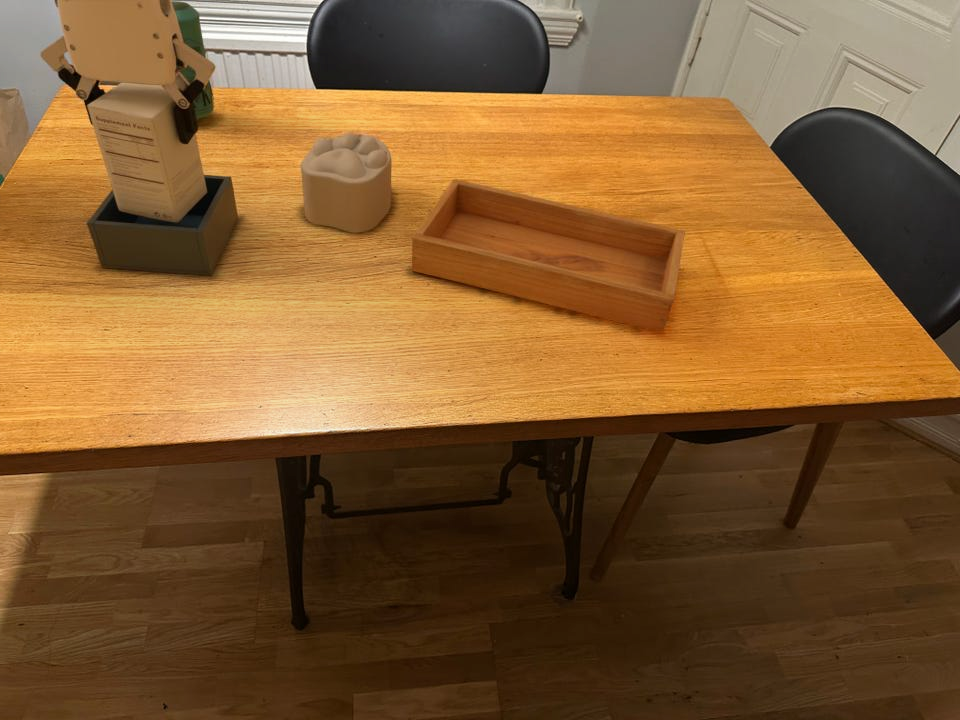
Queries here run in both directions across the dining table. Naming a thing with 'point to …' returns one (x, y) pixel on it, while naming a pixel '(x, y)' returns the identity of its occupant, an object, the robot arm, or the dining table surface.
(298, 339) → the dining table surface
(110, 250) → the dark grey storage bin
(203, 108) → the beverage bottle
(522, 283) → the tray
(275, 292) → the dining table surface
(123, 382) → the dining table surface
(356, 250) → the dining table surface
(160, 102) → the white packaging box
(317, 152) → the lumpy-topped squat cylinder
